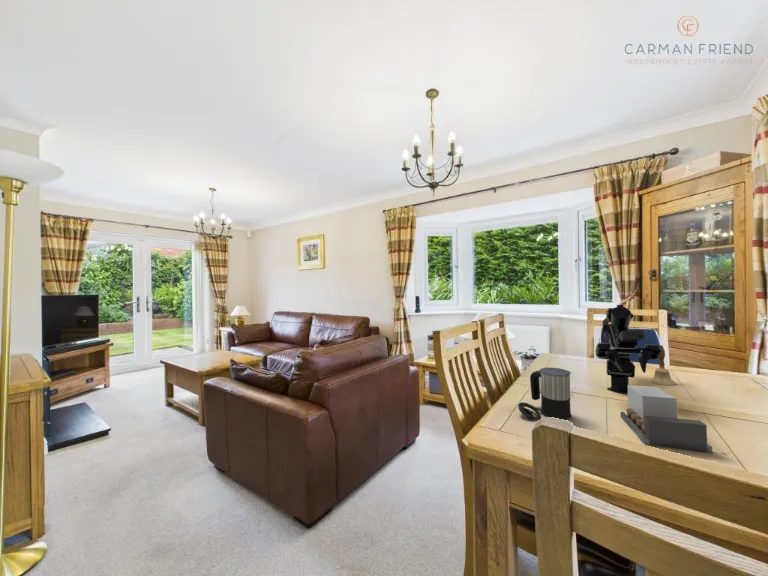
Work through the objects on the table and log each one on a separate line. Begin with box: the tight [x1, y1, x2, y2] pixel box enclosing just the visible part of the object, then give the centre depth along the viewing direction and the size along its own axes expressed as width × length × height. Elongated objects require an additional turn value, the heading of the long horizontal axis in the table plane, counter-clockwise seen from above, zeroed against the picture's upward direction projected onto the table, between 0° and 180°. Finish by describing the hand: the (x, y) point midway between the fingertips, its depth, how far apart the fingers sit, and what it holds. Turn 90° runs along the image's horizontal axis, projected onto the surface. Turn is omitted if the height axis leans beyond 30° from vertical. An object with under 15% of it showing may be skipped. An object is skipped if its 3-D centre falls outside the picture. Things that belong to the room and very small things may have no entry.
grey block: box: [627, 384, 678, 420], centre depth 98 cm, size 12×8×7 cm, turn 159°
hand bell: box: [649, 344, 677, 386], centre depth 136 cm, size 8×8×16 cm
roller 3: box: [635, 419, 644, 431], centre depth 92 cm, size 11×3×3 cm, turn 69°
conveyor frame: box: [620, 411, 713, 454], centre depth 92 cm, size 19×14×7 cm
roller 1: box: [626, 408, 636, 420], centre depth 100 cm, size 11×3×3 cm, turn 69°
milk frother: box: [518, 367, 573, 420], centre depth 107 cm, size 14×16×15 cm
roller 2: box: [631, 414, 642, 425], centre depth 96 cm, size 11×3×3 cm, turn 69°
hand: (633, 371), depth 110 cm, fingers open, 6 cm apart
